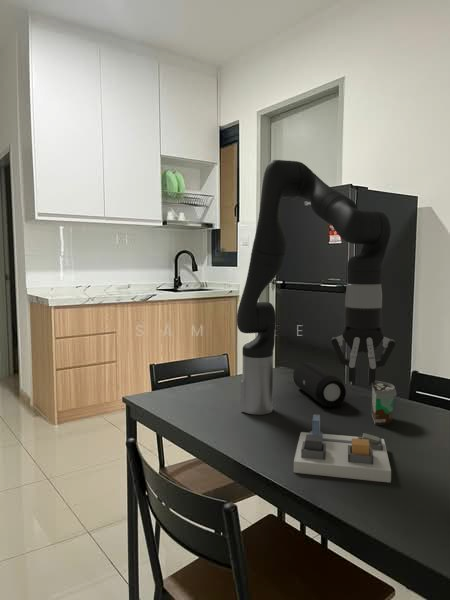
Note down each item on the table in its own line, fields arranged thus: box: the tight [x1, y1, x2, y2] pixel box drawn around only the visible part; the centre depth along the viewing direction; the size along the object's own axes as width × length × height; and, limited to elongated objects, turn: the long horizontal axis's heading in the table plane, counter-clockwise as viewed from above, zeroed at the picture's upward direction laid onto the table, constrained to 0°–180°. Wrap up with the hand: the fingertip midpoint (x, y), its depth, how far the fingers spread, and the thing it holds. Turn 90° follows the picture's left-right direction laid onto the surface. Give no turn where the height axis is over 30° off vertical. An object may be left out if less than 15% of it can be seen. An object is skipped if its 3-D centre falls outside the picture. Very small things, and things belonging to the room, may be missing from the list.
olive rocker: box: [361, 432, 380, 445], centre depth 111 cm, size 4×3×1 cm
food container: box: [371, 380, 398, 426], centre depth 135 cm, size 12×6×10 cm, turn 168°
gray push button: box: [305, 434, 323, 451], centre depth 106 cm, size 4×4×2 cm
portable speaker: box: [293, 361, 347, 408], centre depth 158 cm, size 26×10×10 cm, turn 11°
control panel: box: [293, 431, 392, 483], centre depth 108 cm, size 20×18×4 cm
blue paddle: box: [309, 414, 324, 436], centre depth 114 cm, size 3×4×5 cm
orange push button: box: [352, 438, 369, 455], centre depth 103 cm, size 4×4×2 cm
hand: (361, 384), depth 102 cm, fingers open, 3 cm apart
